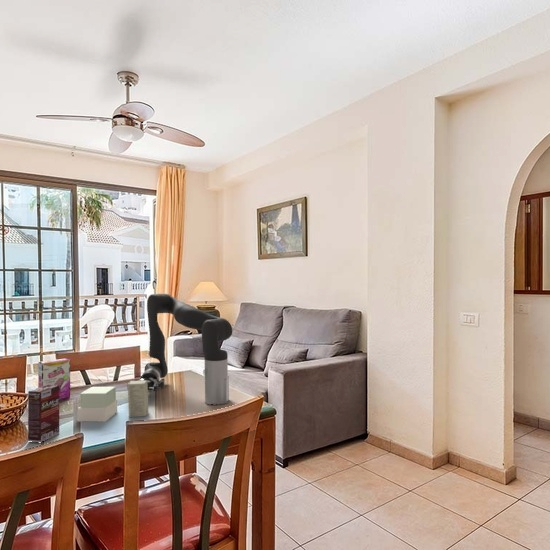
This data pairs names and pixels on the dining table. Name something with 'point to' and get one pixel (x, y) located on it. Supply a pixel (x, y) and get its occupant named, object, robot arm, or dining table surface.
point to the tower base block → (97, 413)
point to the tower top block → (97, 397)
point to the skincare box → (138, 398)
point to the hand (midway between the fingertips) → (143, 388)
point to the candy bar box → (55, 375)
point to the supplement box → (43, 413)
